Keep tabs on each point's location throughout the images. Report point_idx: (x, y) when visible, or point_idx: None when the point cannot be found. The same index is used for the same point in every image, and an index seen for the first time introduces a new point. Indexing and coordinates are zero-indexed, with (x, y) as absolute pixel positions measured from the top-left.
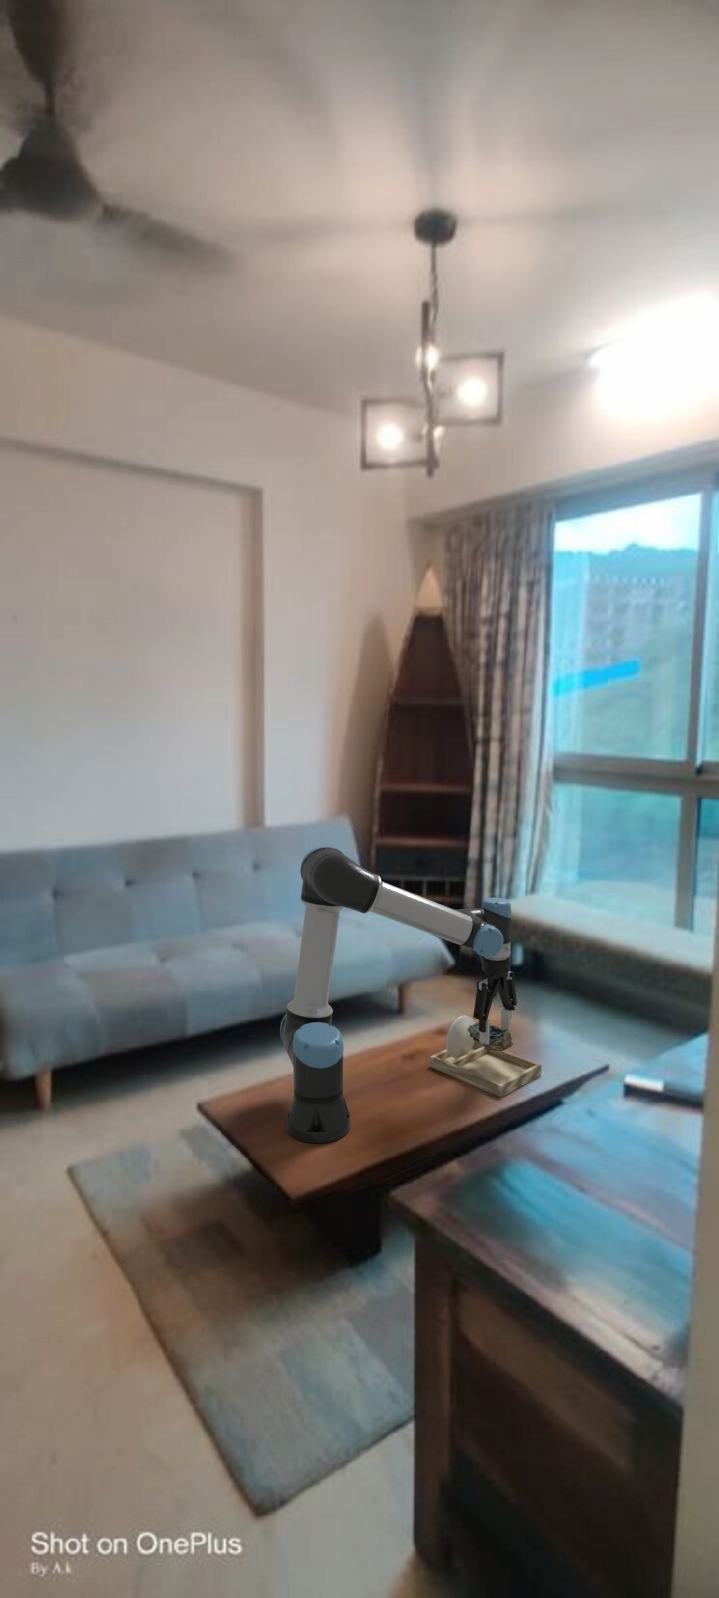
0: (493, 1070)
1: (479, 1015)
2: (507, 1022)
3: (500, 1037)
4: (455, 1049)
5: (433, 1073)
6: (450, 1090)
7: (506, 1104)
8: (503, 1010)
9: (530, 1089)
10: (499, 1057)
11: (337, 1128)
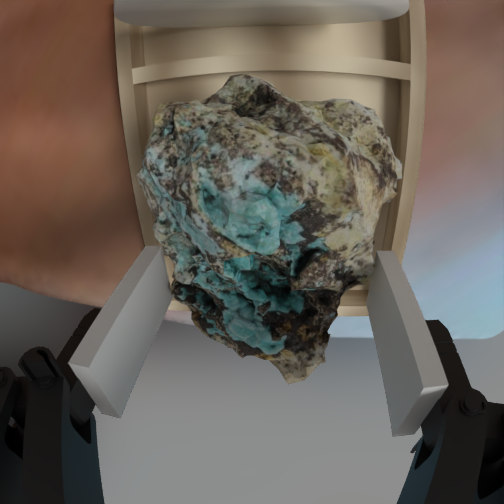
0: None
1: (12, 428)
2: (383, 349)
3: (234, 344)
4: (203, 20)
5: (106, 42)
6: (79, 167)
7: None
8: (411, 398)
9: None
10: (395, 137)
11: None
